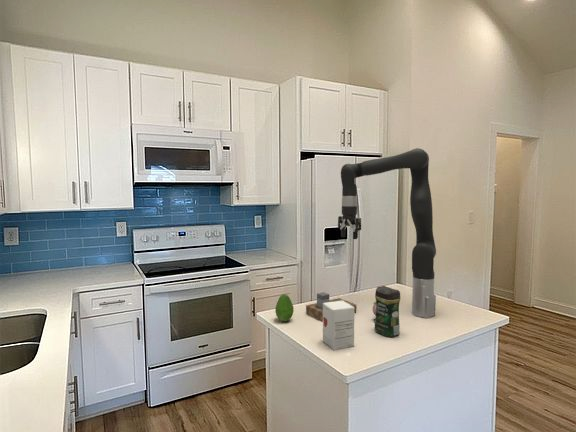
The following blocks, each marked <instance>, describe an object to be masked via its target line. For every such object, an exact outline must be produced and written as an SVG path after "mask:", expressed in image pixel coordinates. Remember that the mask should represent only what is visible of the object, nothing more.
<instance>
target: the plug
mask: <svg viewBox="0 0 576 432" xmlns="http://www.w3.org/2000/svg"><path fill="white" fill-rule="evenodd" d="M329 300H330V294H329V293H327V292H319V293H316V303H317V308H319V309H322V310H323V303H326V302H329Z"/></svg>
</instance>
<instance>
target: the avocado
mask: <svg viewBox="0 0 576 432" xmlns="http://www.w3.org/2000/svg"><path fill="white" fill-rule="evenodd" d="M274 310H275V311H274V313H275V315H276V317H277V319H278V320H279V321H280V322H287V321H289V320H291V318H292V316H293V315H294V312H295V311H294V305H293V302H292V300H291V298H290V296H289V295H287V294H286V293H285V294H284V293H282V294H281V295H280V296H279V298H278V300H277V302H276V304H275V309H274Z"/></svg>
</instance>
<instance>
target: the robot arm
mask: <svg viewBox="0 0 576 432" xmlns="http://www.w3.org/2000/svg"><path fill="white" fill-rule="evenodd" d="M429 165H430V156H429V154H428V153H427V151H425V150H424V149H422V148H418V147H417V148H413V149H410V150H408V151H405V152H402V153H400V154H396V155H393V156H387V157H386V156H385V157H380V158H379V157H378V158H374V159H369V160H364V161H362V162H357V163H345V164H343V165H342V167H341V168H340V180H341V184H342V185H341V187H342V188H341V189H342V191H341V192H342V193H341V194H342V196H341V215H339V216H338V217H337V229H340V237H341V238H346V236H347V235H346V228H348V227H350V228H351V229H352V231H353V232H352V239H353V240H357V239H358V238H359V236H358V235H359V233H358V232H359V231H362V218H361V217H357V215H358V197H357V195H358V186H357V184H356V179H358V178H360V177H364V176H365V177H367V176H374V175H378V174H382V173H387V172H390V171H395V170H401V169H409V170H410V176H411V177H410V178H411V186H410V197H409V198H410V199H409V203H410V204H409V205H410V214H411V218H412V222H413V225H414V229H415V234H416V239H415V241H416V244H415V245H414V246H413V248H412V252H411V270H412V271H411V272H412V290H411V291H412V293H411V295H412V296H411V297H412V299H411V300H412V301H411V314H412V315H413V316H415V317H418V318H419V317H420V318H425V319H428V318H431V317H435V316H436V306H437V305H436V304H437V301H436V300H437V299H436V297H437V296H436V294H435V271H434V260H435V259H434V258H435V257H436V255H437V248H436V243H435V236H434V232H433V224H434V221H433V219H434V218H433V201H432V200H433V199H432V193H431V192H432V191H431V187H430V181H429V167H430V166H429Z"/></svg>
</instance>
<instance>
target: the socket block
mask: <svg viewBox="0 0 576 432" xmlns="http://www.w3.org/2000/svg"><path fill="white" fill-rule="evenodd" d="M342 300H343V301H344V302H346V303H348V304H350V305H351V306H353V307H354V308H355V309H354V315H355V314H357V304H356V303H353V302H352V301H351V302H350V301H348V300H345V299H343V298H334V299H333V298H332V299H329V302H335V301H342ZM305 307H306V308H305V313H306V315H307V316H310V317H312V318H314V319H316V320H317V321H320V322H322V323H323V310H322V309H319V308H317V302H315V303H311V304H307V305H305Z"/></svg>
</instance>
